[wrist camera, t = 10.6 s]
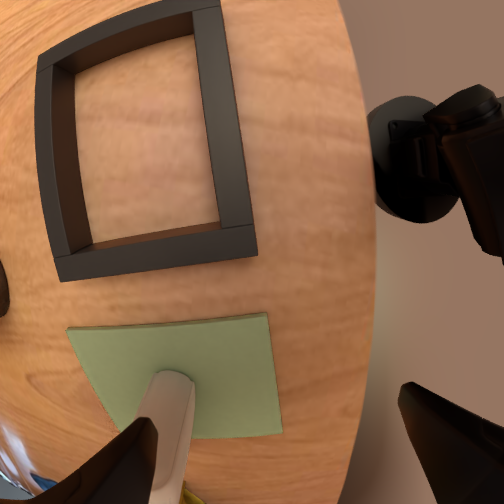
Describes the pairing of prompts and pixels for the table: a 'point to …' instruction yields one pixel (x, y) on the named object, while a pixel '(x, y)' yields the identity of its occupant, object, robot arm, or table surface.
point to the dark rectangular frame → (66, 158)
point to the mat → (188, 371)
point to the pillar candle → (3, 293)
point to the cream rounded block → (169, 430)
